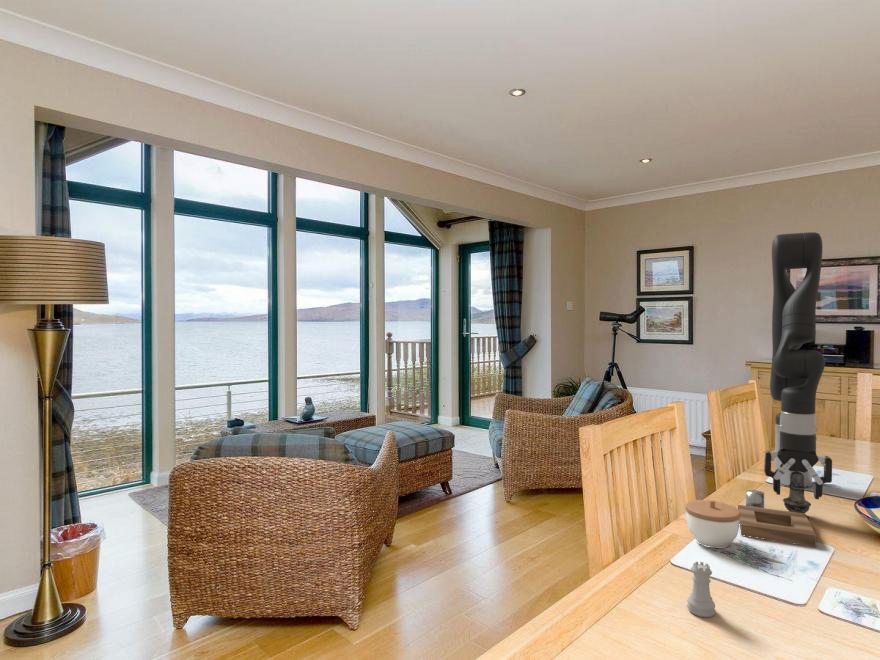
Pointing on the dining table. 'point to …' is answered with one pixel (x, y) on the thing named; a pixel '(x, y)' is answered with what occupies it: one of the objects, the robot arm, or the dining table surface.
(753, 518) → the hole board
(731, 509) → the lidded jar
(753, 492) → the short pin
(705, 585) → the rook chess piece
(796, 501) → the dark chess piece
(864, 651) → the dining table surface
